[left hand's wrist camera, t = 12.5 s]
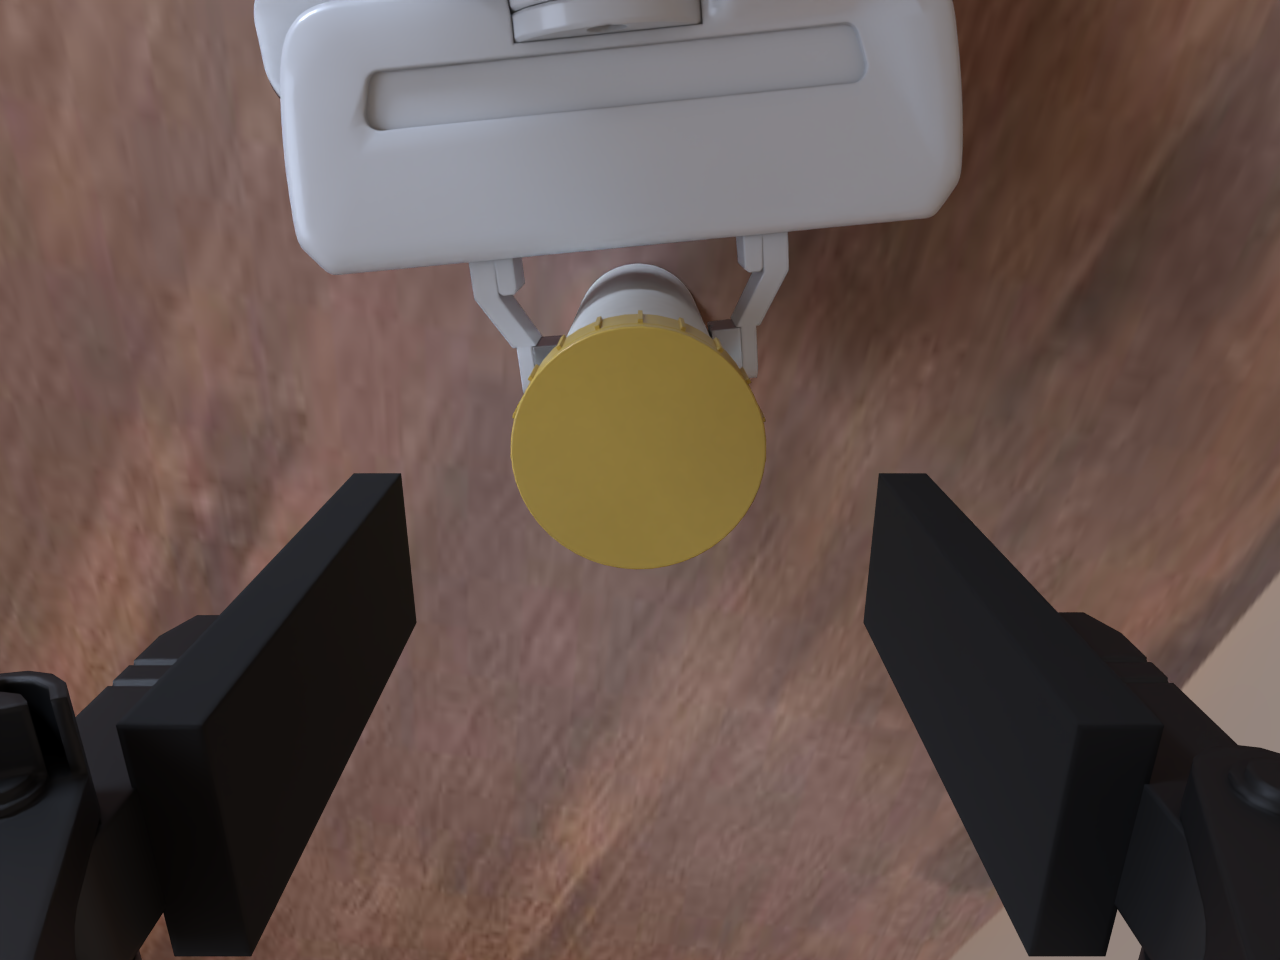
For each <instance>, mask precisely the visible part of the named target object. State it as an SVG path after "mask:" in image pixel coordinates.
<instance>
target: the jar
mask: <svg viewBox="0 0 1280 960" xmlns="http://www.w3.org/2000/svg"><path fill="white" fill-rule="evenodd" d="M638 310H643V314H650V315H659V316H663V317H668V318H672V319H675V320H678V319H679V317H681V318H683V319H684V322H685V323H686V324H689V325H691V326H693V327H694V328H696V329H698V330H700V331H702V332H703V333H705V334H706V335H708V336H709V337H710V335H709V333H708V331H707V329H706V326H705V324H704V322H703V319H702V317H701V315H700V313H699V310H698V308H697V306H696V303H695V301H694V299H693V297H692V295H691V293H690V292H689V290H688V289H687V287H686V286H685V285H684V284H683V283H682V282H681V281H680V280H679V279H678V278H677V277H676V276H674V275H673V274H672V273H670V272H668V271H666V270H664V269H662V268H659V267H657V266H653V265H648V264H629V265H624V266H620V267H617V268H615V269H613V270H611V271H609V272H607V273H606V274H604V275H603V276H601V277H600V278H599V279H598V280H597V281H595V283H594V284H593V285H592V286H591V287H590V289H589V290H588V292H587V293H586V295H585V297H584V299H583V301H582V303H581V305H580V308H579V310H578V312H577V315H576V317H575V319H574V321H573V324H572V326H571V328H570V331H569V333H568V335H567V337H568V336H569V335H571V334H572V333H574V332H575V331H577V330H578V329H580V328H582V327H585V326H587V325H589V324H591V323H593V322H596V319H597V317H599V316H601V317H602V319H605V318H608V317H613V316H619V315H625V314H638Z"/></svg>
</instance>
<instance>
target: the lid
mask: <svg viewBox="0 0 1280 960" xmlns="http://www.w3.org/2000/svg"><path fill="white" fill-rule="evenodd" d="M528 380H529V381H530V383H529V385H528V387H527V389H526V391H525V393H524V395H523V397H522V399H521V400H520V402H519V404H518V406H517V408H516V409H515V411H514V413H513V417H512V418H514V423H513V429H512V434H511V459H512V468H513V472H514V476H515V480H516V484H517V486H518V489H519V491H520V494H521V496H522V498H523V500H524V502H525V504H526V506H527V507H528V509H529V511H530V512H531V514H532V515H533V516H534V518H535V519H536V521H537V522H538V523H539V524H540V525H541V526H542V528H543V529H544V530H545V531H546V532H547V533H548V534H549V535H550V536H552V537H553V538H554V539H555V540H556V541H558V542H559V543H560V544H561V545H563V546H564V547H566V548H568V549H569V550H571V551H572V552H574V553H576V554H578V555H580V556H582V557H584V558H586V559H589V560H591V561H594V562H597V563H600V564H603V565H608V566H613V567H618V568H626V569H653V568H659V567H665V566H670V565H673V564H677V563H680V562H683V561H686V560H688V559H690V558H693V557H695V556H698V555H699V554H701V553H703V552H705V551H706V550H708V549H710V548H711V547H713V546H714V545H715V544H717V543H718V542H719V541H721V540H722V539H723V538H725V537H726V536H727V535H728V534H729V533H730V532H731V531H732V530H733V529H734V528H735V527H736V526H737V524H738V523H739V522H740V521H741V519H742V518H743V517H744V516H745V514H746V512H747V511H748V509H749V507H750V506H751V504H752V503H753V501H754V498H755V496H756V494H757V492H758V489H759V487H760V483H761V480H762V476H763V473H764V467H765V462H766V435H765V428H764V422H765V417H764V415H763V413H762V411H761V409H760V407H759V405H758V403H757V401H756V399H755V397H754V394H753V392H752V391H751V389H750V387H749V385H748V384H750V383H751V381H750V379H749V377H748V375H747V373H746V372H745V370H744V368H743V367H742V368H740V369H739V367H738V365H737V364H736V362H735V361H734V360H733V359H732V358H731V356H730V355H729V354H728V353H727V351H726V350H724V349H723V347H722V345H721V343H720V341H719V339H718V338H717V337H715V338H714V339H712V338H711V337H709V336H708V335H706V334H705V333H703V332H702V331H700V330H698V329H696V328H694V327H693V326H691V325H689V324H686V323H685V322H684V319H683V318H681V317H679V319H678V320H675V319H672V318H668V317H663V316H659V315H650V314H643V310H638V314H625V315H619V316H613V317H608V318H605V319H602V317H601V316H599V317H597V319H596V322H593V323H591V324H589V325H587V326H585V327H582V328H580V329H578V330H577V331H575V332H574V333H572V334H571V335H569V336H568V337H566V336H565V335H563V336H562V337H561V338H560V340H559V342H558V344H557V346H556V347H554V348H553V350H552V351H551V352H550V353H549V354H548V355H547V356H546V357H545V359H544V360H543V361H542V363H541V364H540V366H539V365H537V364H536V365H535V367H534V368H533V370H532V372H531V374H530V376H529V378H528Z"/></svg>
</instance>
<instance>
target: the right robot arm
mask: <svg viewBox="0 0 1280 960" xmlns="http://www.w3.org/2000/svg"><path fill="white" fill-rule="evenodd" d="M254 20H255V26H256V31H257V35H258V40H259V44H260V49H261V54H262V58H263V63H264V67H265V71H266V74H267V76H268V79H269V81H270V84H271V86H272V88H273V90H274V91H275V93H276V94H277V96H278V97H279V98H280V99H281V120H282V136H283V147H284V158H285V167H286V176H287V183H288V190H289V197H290V203H291V209H292V216H293V222H294V227H295V232H296V236H297V239H298V242H299V244H300V246H301V247H302V249H303V250H304V251H305V252H306V253H307V254H308V255H309V256H310V257H311V258H312V259H313V260H314V261H315V262H316V263H317V264H319V265H320V266H321V267H322V268H323V269H324V270H325V271H326V272H328V273H330V274H333V275H342V274H353V273H364V272H374V271H384V270H395V269H405V268H415V267H426V266H436V265H447V264H457V263H467V262H469V268H470V274H471V281H472V287H473V293H474V299H475V301H476V302H477V303H478V304H479V306H480V307H481V308H482V310H483V311H484V312H485V313H486V315H487V316H488V317H489V318H490V320H491V321H492V322H493V324H494V325H495V326H496V327H497V329H498V330H499V331H500V332H501V334H502V335H503V336H504V338H505V339H506V340H507V341H508V343H509V344H510V345H511V346H512V348H517V353H518V360H519V367H520V374H521V381H522V388H523V393H525V391H526V389H527V387H528V385H529V383H530V381H529V380H528V378H529V376H530V374H531V372H532V370H533V368H534V367H535V365H536V364H537V365H539V366H540V364H541V363H542V361H543V360H544V359H545V357H546V356H547V355H548V354H549V353H550V352H551V351H552V350H553V348H554V347H556V346H557V344H558V342H559V340H560V338H561V337H562V336H563V335H559V336H545V337H541V336H542V335H541V334H540V332H539V331H538V329H537V328H536V327H535V325H534V324H533V322H532V321H531V320H530V318H529V317H528V316H527V314H526V313H525V311H524V310H523V309H522V307H521V306H520V304H519V303H518V302H517V300H516V299H515V298H514V296H513V295H514V294H515V293H516V292H517V291H518V290H519V289H520V288H521V287H522V286H523V285H524V284H525V279H524V271H523V263H522V257H530V256H540V255H550V254H561V253H571V252H582V251H592V250H602V249H613V248H623V247H633V246H644V245H654V244H665V243H675V242H685V241H696V240H706V239H717V238H727V237H736V243H737V257H738V263H739V264H740V265H741V266H742V267H743V268H744V269H745V270H746V271H748V272H749V273H750V272H752V274H751V276H750V278H749V280H748V282H747V284H746V286H745V288H744V291H743V293H742V295H741V297H740V299H739V301H738V303H737V305H736V307H735V309H734V311H733V314H732V316H731V319H727V320H719V321H710V322H707V324H708V333H709V335H710V337H711V338H712V339H714V338H715V337H717V338H718V339H719V341H720V343H721V345H722V347H723V349H724V350H726V351H727V353H728V354H729V355H730V356H731V358H732V359H733V360H734V361H735V362H736V364H737V365H738V367H739V369H740V368H742V367H743V368H744V370H745V372H746V373H747V375H748V377H749V378H756V377H757V374H758V356H757V334H756V326H758V325H760V324H761V322H762V320H763V318H764V317H765V315H766V313H767V311H768V309H769V307H770V305H771V303H772V301H773V299H774V297H775V295H776V294H777V292H778V290H779V288H780V286H781V284H782V282H783V280H784V278H785V276H786V274H787V272H788V271H789V256H788V232H789V231H800V230H810V229H820V228H831V227H841V226H852V225H862V224H872V223H883V222H893V221H903V220H913V219H923V218H929V217H932V216H933V215H935V214H936V213H937V212H938V211H939V209H940V208H941V207H942V205H943V204H944V203H945V201H946V200H947V199H948V197H949V196H950V194H951V193H952V191H953V190H954V188H955V187H956V185H957V184H958V181H959V179H960V175H961V167H962V152H963V107H962V84H961V69H960V55H959V45H958V36H957V26H956V18H955V11H954V5H953V1H952V0H255V4H254Z"/></svg>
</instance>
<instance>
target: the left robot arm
mask: <svg viewBox="0 0 1280 960" xmlns="http://www.w3.org/2000/svg"><path fill="white" fill-rule="evenodd" d="M415 625H416V614H415V604H414V594H413V585H412V575H411V565H410V556H409V546H408V536H407V527H406V517H405V507H404V498H403V488H402V478H401V473H354V474H353V475H352V476H351V477H350V478H349V479H348V480H347V481H346V482H345V483H344V484H343V486H342V487H341V488H340V489H339V490H338V491H337V492H336V493H335V494H334V495H333V496H332V497H331V498H330V499H329V500H328V501H327V502H326V503H325V505H324V506H323V507H322V508H321V509H320V510H319V511H318V512H317V513H316V514H315V515H314V516H313V517H312V518H311V519H310V520H309V521H308V522H307V524H306V525H305V526H304V527H303V528H302V529H301V530H300V531H299V532H298V533H297V534H296V535H295V536H294V537H293V538H292V539H291V540H290V541H289V543H288V544H287V545H286V546H285V547H284V548H283V549H282V550H281V551H280V552H279V553H278V554H277V555H276V556H275V557H274V558H273V559H272V560H271V562H270V563H269V564H268V565H267V566H266V567H265V568H264V569H263V570H262V571H261V572H260V573H259V574H258V575H257V576H256V577H255V578H254V579H253V581H252V582H251V583H250V584H249V585H248V586H247V587H246V588H245V589H244V590H243V591H242V592H241V593H240V594H239V595H238V596H237V597H236V598H235V600H234V601H233V602H232V603H231V604H230V605H229V606H228V607H227V608H226V609H225V610H224V611H223V612H222V613H221V614H220V615H197V616H195V617H193V618H191V619H189V620H188V621H186V622H184V623H182V624H180V625H179V626H177V627H175V628H173V629H171V630H170V631H168V632H166V633H164V634H162V635H161V636H159V637H158V638H157V639H156V640H155V641H154V642H153V643H152V644H151V645H150V646H149V647H148V648H147V649H146V650H145V651H143V652H142V653H141V654H140V655H139V656H138V657H137V658H136V659H135V660H134V665H129V666H128V667H127V668H126V669H125V670H124V671H123V672H122V673H121V674H120V675H119V676H118V677H117V678H116V679H115V680H114V681H113V686H107V687H106V688H105V689H104V690H103V691H102V692H101V693H100V694H99V695H98V696H97V697H96V698H95V699H94V700H93V701H92V702H91V703H90V704H89V705H88V706H87V707H86V708H85V709H84V710H82V711H81V712H80V713H79V714H78V715H77V716H76V717H75V714H74V711H73V707H72V703H71V700H70V696H69V692H68V689H67V685H66V683H65V682H64V681H62V680H61V679H59V678H58V677H56V676H55V675H53V674H49V673H41V672H33V671H22V672H12V673H2V674H0V960H142V959H141V955H140V952H139V949H140V948H141V946H142V944H143V943H144V941H145V940H146V938H147V937H148V935H149V934H150V932H151V930H152V929H153V927H154V926H155V924H156V923H157V921H158V920H159V918H160V917H161V915H162V913H164V917H165V921H166V925H167V929H168V932H169V936H170V940H171V944H172V948H173V952H174V956H252V954H253V952H254V949H255V947H256V945H257V943H258V941H259V939H260V937H261V935H262V933H263V931H264V929H265V927H266V925H267V923H268V921H269V919H270V917H271V915H272V913H273V911H274V909H275V907H276V905H277V903H278V901H279V899H280V897H281V895H282V893H283V891H284V889H285V887H286V885H287V883H288V881H289V879H290V877H291V875H292V873H293V871H294V869H295V867H296V865H297V863H298V861H299V859H300V857H301V855H302V853H303V851H304V849H305V847H306V845H307V843H308V841H309V838H310V836H311V834H312V832H313V830H314V828H315V826H316V824H317V822H318V820H319V818H320V816H321V814H322V812H323V810H324V808H325V806H326V804H327V802H328V800H329V798H330V796H331V794H332V792H333V790H334V788H335V786H336V784H337V782H338V780H339V778H340V776H341V774H342V772H343V770H344V768H345V766H346V764H347V762H348V760H349V758H350V756H351V754H352V752H353V750H354V748H355V746H356V744H357V742H358V740H359V738H360V736H361V734H362V732H363V730H364V727H365V725H366V723H367V721H368V719H369V717H370V715H371V713H372V711H373V709H374V707H375V705H376V703H377V701H378V699H379V697H380V695H381V693H382V691H383V689H384V687H385V685H386V683H387V681H388V679H389V677H390V675H391V673H392V671H393V669H394V667H395V665H396V663H397V661H398V659H399V657H400V655H401V653H402V651H403V649H404V647H405V645H406V643H407V641H408V639H409V637H410V635H411V633H412V631H413V629H414V627H415ZM864 625H865V627H866V629H867V631H868V633H869V635H870V637H871V639H872V641H873V643H874V645H875V647H876V649H877V651H878V653H879V655H880V657H881V659H882V661H883V663H884V665H885V667H886V669H887V671H888V673H889V675H890V677H891V679H892V681H893V683H894V685H895V687H896V689H897V691H898V693H899V695H900V697H901V699H902V701H903V703H904V705H905V707H906V709H907V711H908V713H909V715H910V717H911V719H912V721H913V723H914V725H915V727H916V730H917V732H918V734H919V736H920V738H921V740H922V742H923V744H924V746H925V748H926V750H927V752H928V754H929V756H930V758H931V760H932V762H933V764H934V766H935V768H936V770H937V772H938V774H939V776H940V778H941V780H942V782H943V784H944V786H945V788H946V790H947V792H948V794H949V796H950V798H951V800H952V802H953V804H954V806H955V808H956V810H957V812H958V814H959V816H960V818H961V820H962V822H963V824H964V826H965V828H966V830H967V832H968V834H969V836H970V838H971V841H972V843H973V845H974V847H975V849H976V851H977V853H978V855H979V857H980V859H981V861H982V863H983V865H984V867H985V869H986V871H987V873H988V875H989V877H990V879H991V881H992V883H993V885H994V887H995V889H996V891H997V893H998V895H999V897H1000V899H1001V901H1002V903H1003V905H1004V907H1005V909H1006V911H1007V913H1008V915H1009V917H1010V919H1011V921H1012V923H1013V925H1014V927H1015V929H1016V931H1017V933H1018V935H1019V937H1020V939H1021V941H1022V943H1023V945H1024V947H1025V949H1026V952H1027V953H1028V956H1106V952H1107V948H1108V944H1109V940H1110V936H1111V932H1112V929H1113V925H1114V921H1115V917H1116V913H1117V909H1118V910H1119V912H1120V913H1121V915H1122V917H1123V918H1124V920H1125V921H1126V923H1127V924H1128V926H1129V927H1130V929H1131V931H1132V932H1133V934H1134V935H1135V937H1136V938H1137V940H1138V941H1139V943H1140V944H1141V946H1142V948H1141V952H1140V955H1139V959H1138V960H1280V753H1276V752H1273V751H1270V750H1266V749H1263V748H1258V747H1249V746H1240V745H1237V744H1236V743H1235V742H1234V741H1233V740H1232V739H1231V738H1230V737H1229V736H1228V735H1227V734H1226V733H1225V732H1224V731H1223V730H1222V729H1221V728H1220V727H1219V726H1217V725H1216V724H1215V723H1214V722H1213V721H1212V720H1211V719H1210V718H1209V717H1208V716H1207V715H1206V714H1205V713H1204V712H1203V711H1202V710H1201V709H1200V708H1199V707H1198V706H1197V705H1196V704H1195V703H1194V702H1192V701H1191V700H1190V699H1189V698H1188V697H1187V696H1186V695H1185V694H1184V693H1183V692H1182V691H1181V690H1180V689H1179V688H1178V687H1177V686H1176V685H1175V684H1174V683H1168V678H1167V677H1166V676H1165V675H1164V674H1163V673H1162V672H1161V671H1160V670H1159V669H1158V668H1157V667H1156V666H1155V665H1154V664H1153V663H1152V662H1147V660H1146V658H1147V657H1146V656H1145V655H1143V654H1142V653H1141V652H1140V651H1139V650H1138V649H1137V648H1136V647H1135V646H1134V645H1133V644H1132V643H1131V642H1130V641H1129V640H1128V639H1127V638H1126V637H1125V636H1124V635H1123V634H1122V633H1120V632H1118V631H1116V630H1115V629H1113V628H1111V627H1109V626H1107V625H1105V624H1104V623H1102V622H1100V621H1098V620H1096V619H1095V618H1093V617H1091V616H1089V615H1087V614H1085V613H1084V612H1057V611H1056V610H1055V609H1054V608H1053V607H1052V606H1051V605H1050V604H1049V603H1048V602H1047V601H1046V600H1045V598H1044V597H1043V596H1042V595H1041V594H1040V593H1039V592H1038V591H1037V590H1036V589H1035V588H1034V587H1033V586H1032V585H1031V584H1030V583H1029V582H1028V581H1027V579H1026V578H1025V577H1024V576H1023V575H1022V574H1021V573H1020V572H1019V571H1018V570H1017V569H1016V568H1015V567H1014V566H1013V565H1012V564H1011V563H1010V562H1009V560H1008V559H1007V558H1006V557H1005V556H1004V555H1003V554H1002V553H1001V552H1000V551H999V550H998V549H997V548H996V547H995V546H994V545H993V544H992V543H991V541H990V540H989V539H988V538H987V537H986V536H985V535H984V534H983V533H982V532H981V531H980V530H979V529H978V528H977V527H976V526H975V525H974V524H973V522H972V521H971V520H970V519H969V518H968V517H967V516H966V515H965V514H964V513H963V512H962V511H961V510H960V509H959V508H958V507H957V506H956V505H955V503H954V502H953V501H952V500H951V499H950V498H949V497H948V496H947V495H946V494H945V493H944V492H943V491H942V490H941V489H940V488H939V487H938V486H937V484H936V483H935V482H934V481H933V480H932V479H931V478H930V477H929V476H928V475H927V474H926V473H879V478H878V488H877V498H876V507H875V517H874V527H873V536H872V546H871V556H870V565H869V575H868V585H867V594H866V604H865V614H864Z"/></svg>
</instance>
